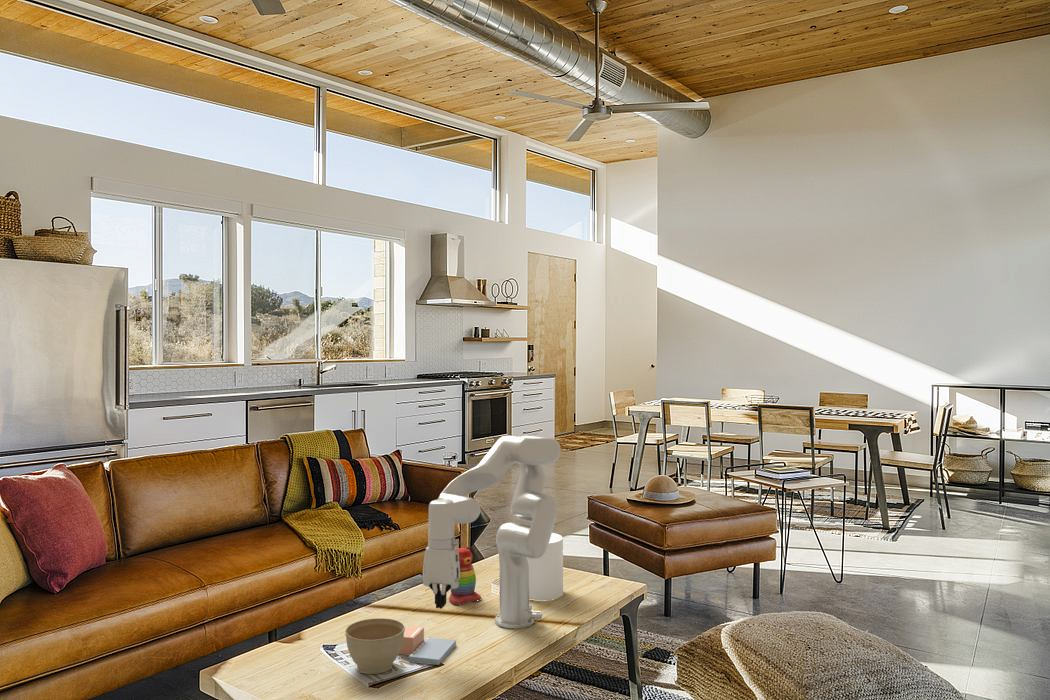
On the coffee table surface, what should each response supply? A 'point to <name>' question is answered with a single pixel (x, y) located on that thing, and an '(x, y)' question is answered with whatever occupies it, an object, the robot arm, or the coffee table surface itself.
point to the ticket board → (432, 651)
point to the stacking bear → (465, 580)
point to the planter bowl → (375, 643)
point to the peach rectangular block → (412, 639)
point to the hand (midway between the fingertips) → (440, 606)
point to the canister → (547, 571)
